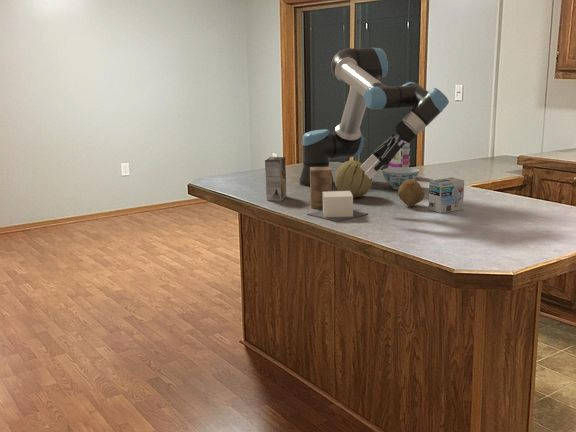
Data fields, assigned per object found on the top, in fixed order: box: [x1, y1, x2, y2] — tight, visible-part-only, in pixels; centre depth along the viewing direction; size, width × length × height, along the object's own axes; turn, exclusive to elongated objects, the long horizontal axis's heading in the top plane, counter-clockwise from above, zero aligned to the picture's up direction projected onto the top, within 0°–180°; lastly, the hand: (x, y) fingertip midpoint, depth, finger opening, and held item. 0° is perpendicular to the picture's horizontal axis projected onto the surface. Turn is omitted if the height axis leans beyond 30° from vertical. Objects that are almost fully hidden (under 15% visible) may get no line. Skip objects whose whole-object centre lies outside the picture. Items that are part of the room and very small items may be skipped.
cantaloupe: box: [333, 158, 373, 199], centre depth 241 cm, size 15×15×15 cm
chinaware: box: [382, 167, 420, 190], centre depth 257 cm, size 15×15×8 cm
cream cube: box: [322, 190, 354, 217], centre depth 213 cm, size 10×10×7 cm
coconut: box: [397, 179, 425, 207], centre depth 224 cm, size 9×9×10 cm
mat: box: [306, 209, 369, 223], centre depth 214 cm, size 15×15×1 cm
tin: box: [309, 166, 333, 209], centre depth 228 cm, size 8×8×14 cm
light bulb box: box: [428, 177, 465, 214], centre depth 216 cm, size 11×7×11 cm, turn 117°
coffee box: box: [264, 156, 287, 202], centre depth 243 cm, size 9×6×16 cm
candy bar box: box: [387, 141, 411, 168], centre depth 284 cm, size 11×5×16 cm, turn 25°
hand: (364, 173), depth 211 cm, fingers open, 13 cm apart
